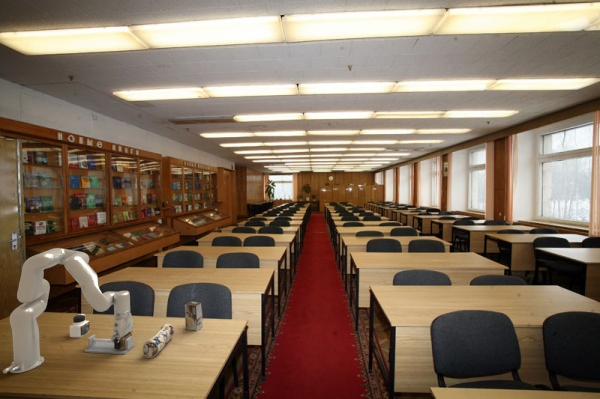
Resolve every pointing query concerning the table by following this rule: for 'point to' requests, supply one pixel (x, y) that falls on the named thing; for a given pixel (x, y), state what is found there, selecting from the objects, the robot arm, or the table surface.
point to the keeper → (123, 341)
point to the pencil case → (158, 341)
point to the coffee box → (193, 315)
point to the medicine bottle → (79, 326)
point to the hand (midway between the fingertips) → (123, 344)
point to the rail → (107, 345)
